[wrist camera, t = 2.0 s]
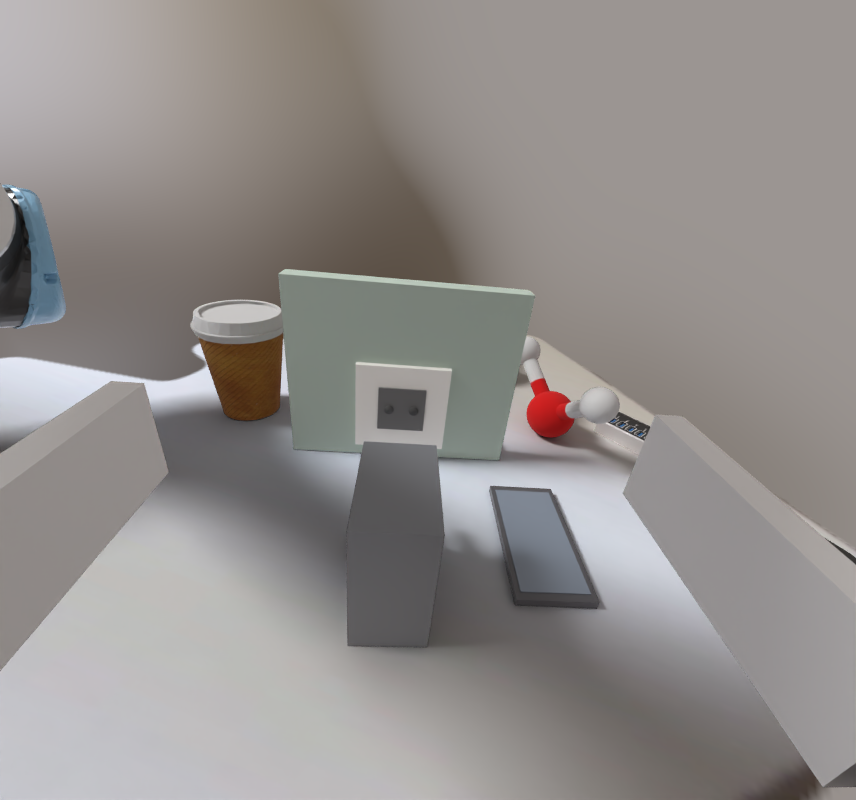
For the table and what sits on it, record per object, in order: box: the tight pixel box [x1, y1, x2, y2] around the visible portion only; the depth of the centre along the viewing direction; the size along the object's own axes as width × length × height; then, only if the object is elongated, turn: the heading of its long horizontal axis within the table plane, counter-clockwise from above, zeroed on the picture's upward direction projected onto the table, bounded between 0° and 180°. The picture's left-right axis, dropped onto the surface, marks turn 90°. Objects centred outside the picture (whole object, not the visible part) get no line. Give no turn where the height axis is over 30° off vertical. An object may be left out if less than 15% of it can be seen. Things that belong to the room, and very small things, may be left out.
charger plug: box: [347, 441, 445, 647], centre depth 27 cm, size 5×10×10 cm, turn 2°
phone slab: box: [489, 486, 599, 609], centre depth 34 cm, size 6×12×1 cm, turn 1°
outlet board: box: [278, 269, 535, 460], centre depth 40 cm, size 22×7×18 cm, turn 92°
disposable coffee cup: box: [190, 300, 283, 421], centre depth 45 cm, size 10×10×12 cm
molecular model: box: [520, 337, 620, 437], centre depth 47 cm, size 18×6×10 cm, turn 18°
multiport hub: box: [594, 412, 650, 455], centre depth 48 cm, size 4×11×2 cm, turn 39°
